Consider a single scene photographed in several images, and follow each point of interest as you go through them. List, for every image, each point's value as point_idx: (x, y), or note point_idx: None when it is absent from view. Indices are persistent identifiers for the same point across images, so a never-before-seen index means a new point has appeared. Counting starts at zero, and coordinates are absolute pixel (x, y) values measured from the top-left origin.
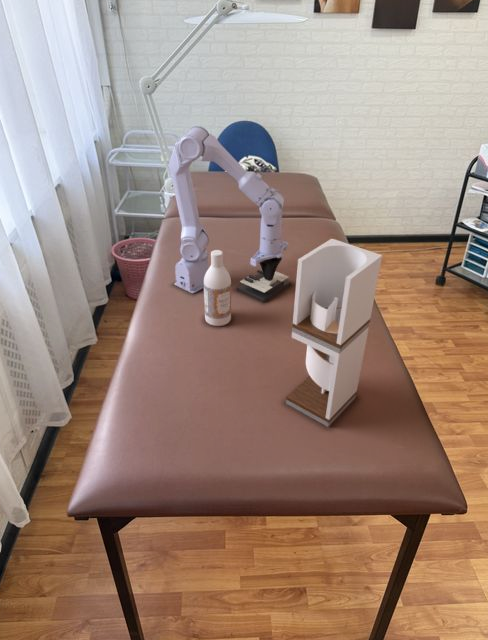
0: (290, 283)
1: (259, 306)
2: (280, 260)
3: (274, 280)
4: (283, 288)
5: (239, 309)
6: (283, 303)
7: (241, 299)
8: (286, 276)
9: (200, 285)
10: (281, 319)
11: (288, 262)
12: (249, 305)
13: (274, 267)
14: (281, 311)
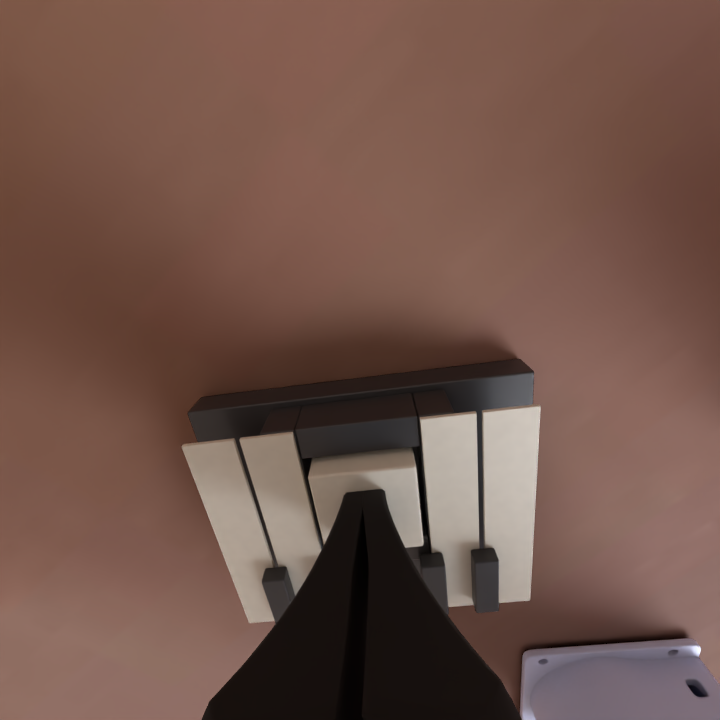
0: (195, 405)
1: (574, 345)
2: (240, 700)
3: (345, 473)
4: (283, 392)
5: (689, 402)
6: (418, 258)
7: (576, 471)
8: (200, 461)
9: (632, 667)
10: (633, 77)
11: (44, 573)
12: (606, 396)
13: (351, 607)
14: (524, 179)
